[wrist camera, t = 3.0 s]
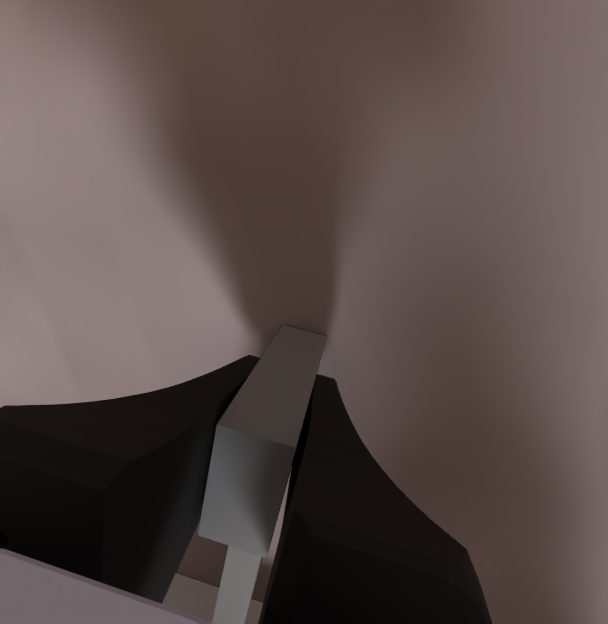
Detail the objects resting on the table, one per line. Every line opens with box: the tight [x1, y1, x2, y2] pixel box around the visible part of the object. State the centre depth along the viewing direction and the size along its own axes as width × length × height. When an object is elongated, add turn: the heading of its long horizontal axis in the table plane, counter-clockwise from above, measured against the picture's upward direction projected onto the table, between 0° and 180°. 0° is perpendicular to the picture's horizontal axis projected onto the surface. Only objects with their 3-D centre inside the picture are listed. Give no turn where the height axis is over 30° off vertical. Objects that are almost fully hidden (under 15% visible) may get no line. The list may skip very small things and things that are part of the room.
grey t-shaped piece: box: [162, 325, 327, 624], centre depth 12 cm, size 8×15×6 cm, turn 167°
